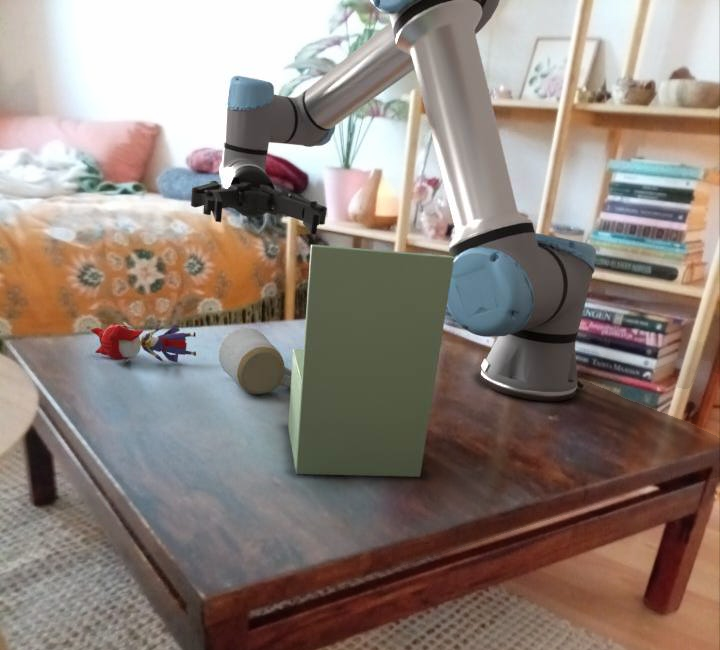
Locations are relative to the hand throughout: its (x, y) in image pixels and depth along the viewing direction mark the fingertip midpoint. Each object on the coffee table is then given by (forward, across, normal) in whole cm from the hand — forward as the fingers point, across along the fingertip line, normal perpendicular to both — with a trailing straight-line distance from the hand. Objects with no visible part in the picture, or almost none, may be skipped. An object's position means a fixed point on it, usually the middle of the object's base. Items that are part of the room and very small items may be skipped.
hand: (268, 218), depth 99 cm
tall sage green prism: (+33, -7, -19) cm, 38 cm away
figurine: (0, +16, -23) cm, 28 cm away
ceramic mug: (+11, 0, -21) cm, 24 cm away
